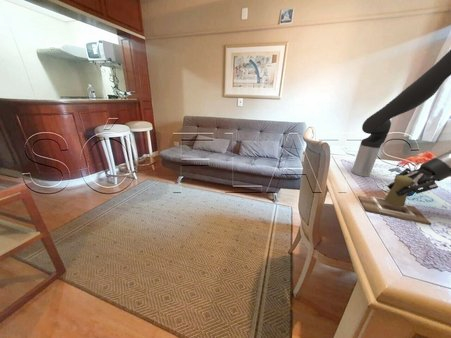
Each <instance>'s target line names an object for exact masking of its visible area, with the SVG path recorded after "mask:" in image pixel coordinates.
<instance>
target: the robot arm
mask: <svg viewBox="0 0 451 338" xmlns="http://www.w3.org/2000/svg"><path fill="white" fill-rule="evenodd" d="M450 76H451V49H450V50H448V52H446V53H445V55H443V56H442V57H441V58H440V59H439V60H438V61H437V62H436V63H435V64H433V66H432V67H430V68H429V69H428V70H426V71H425V72H424V73H423V74H422V75H420V76H419V77H418V78H417V79H416V80H415V81H414V82H413V83H411V84H410V85H409V86H407V87H406V88H405V89H404V90H402V91H401V92H400V93H399V94H398V95H397V96H395V97H393V99H392V100H391V101H389V102H388V103H387V104H386V105H384V106H383V107H382V108H380V109H379V110H378V111H375V112H374V113H373V114H372V115H370V116H369V117H367V118H366V119H365V120H364V122H363V124H362V127H361V129H362V132H363V133H364V134H369V136H367V137H366V138H363V139H362V140H361V141H360V145H359V147H358V151H357V154H356V157H355V161H354V163H353V165H352V169H351V173H352V174H354V175H356V176H360V177H367V178H368V177H370V176H371V174H372V171H373V168H374V167H375V163H376V160H377V158H378V154H379V152H380V149H381V147H382V145H383V144H384V143H385V141H386V138H387V137H388V134H389V132H390V129H391V125H392V122H391V119H392V118H394V117H397V116H399V115H402V114H405V113H407V112H410V111H412V110H414V109H416V108H417V107H419V106H420V105H421V106H422V104H424V103H425V102H427V100H429V99H430V98H432V97H433V96H434V95H436V93H437V92H438V91H439V89H440V88H441V86H442V85H443V83H444V82H445V81H446V80H447V78H449V77H450ZM399 175H402V176H407V177H410V178H411V179H412V183H411V184H410V185H408V186H407V187H404V188H402V189H400V190H398V191H396V192H395V193H396V194H397V195H398V196H403V195H405V194H407V195H408V194H409V193H415V194H421V193H425V192H428V191H431V190H435V189H437V188H439V185H438V184H437V183H436V182H441V181H443V180H445V179H447V178H449V177H451V149H450V150H447V151H446V152H443V153H441V154H439V155H437V156H435V157H434V158H431V159H430V160H427V161H425V162H424V163H421V164H420V167H419V168H418V169H414V170H412V169H410V168H406V169H404V170H403V171H402V172H400V173H399V174H397V175H396V176H399ZM394 184H395V182H394V181H393V182H392V183H389V184H388V185H387V188H388V189H389V191H390V190H391V188H392V187H393V185H394Z"/></svg>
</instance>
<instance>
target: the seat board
mask: <svg viewBox="0 0 451 338" xmlns="http://www.w3.org/2000/svg"><path fill="white" fill-rule="evenodd" d="M357 199H358V201H359V202H360V204H361V205H362V208H363V209H364V211H365V212H367V213H372V214H377V215H381V216H385V217H391V218H395V219H399V220H404V221H409V222H413V223H414V222H415V223H418V224H419V223H420V224H423V225H427V226H428V225H429V226H431V225H432V222H430V220H428V218H427V217H425V216H424V214H423V213H422V212H420V211H419V210H418V209H417V207H415V206H414V205H408V204H405V205H404V206H397V205H393V204H391V203H389V202H387V201H386V200H385V198H382V197H377V196H373V195H372V196H371V197H366V196H361V195H358V196H357Z"/></svg>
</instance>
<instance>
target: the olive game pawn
mask: <svg viewBox="0 0 451 338" xmlns="http://www.w3.org/2000/svg"><path fill="white" fill-rule="evenodd" d="M398 175H399V174H398ZM393 182H395V184H394V185H393V187H392V188H391V190H390V189H389V192H388V193H387V194H386V196H385V198H384V199H385V200H386V201H387V202H389V203H391V204H393V205H397V206H404V205H406V200H407V196H408V193H407V194H405V195H403V196H398V195H397V194H396V193H395V192H396V191H398V190H400V189H402V188H404V187H407V186H408V185H410V184H411V183H412V179H411V178H410V177H407V176H402V175H399V176H397V175H396V176H395V177H394V179H393Z"/></svg>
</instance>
